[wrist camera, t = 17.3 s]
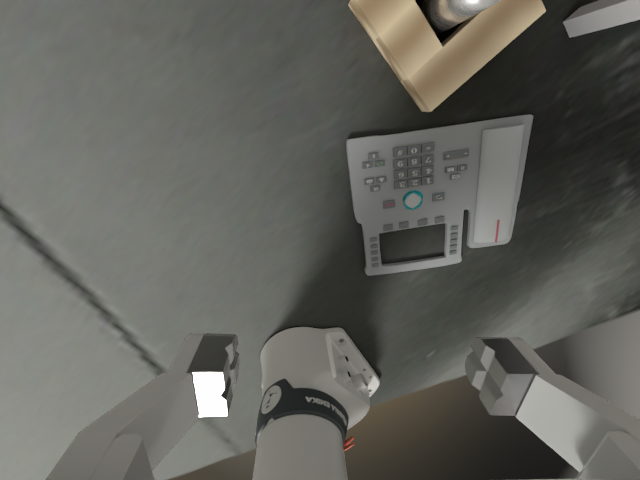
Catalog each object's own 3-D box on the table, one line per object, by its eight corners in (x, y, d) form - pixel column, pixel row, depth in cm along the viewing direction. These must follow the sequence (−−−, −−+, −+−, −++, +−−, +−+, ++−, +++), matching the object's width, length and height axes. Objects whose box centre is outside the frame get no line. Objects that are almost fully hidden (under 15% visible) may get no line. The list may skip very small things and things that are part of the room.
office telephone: (542, 112, 35) (518, 259, 43) (527, 111, 37) (507, 252, 46) (347, 141, 35) (361, 282, 43) (345, 139, 38) (358, 273, 46)
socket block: (526, 19, 33) (546, 11, 30) (421, 111, 36) (430, 112, 33) (461, -116, 28) (478, -140, 25) (348, 5, 31) (352, -5, 29)
